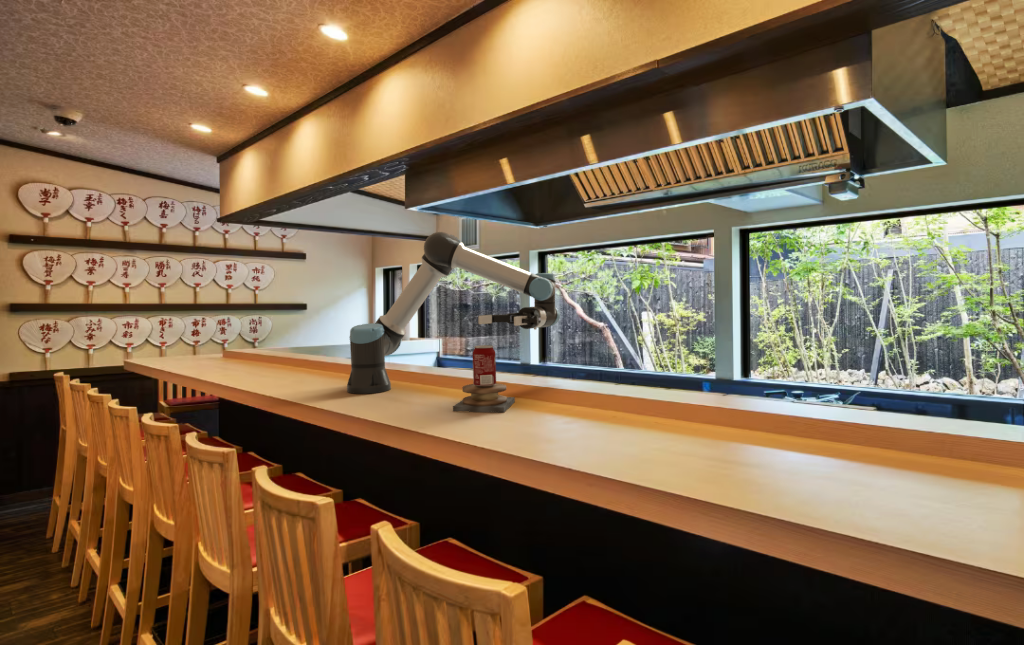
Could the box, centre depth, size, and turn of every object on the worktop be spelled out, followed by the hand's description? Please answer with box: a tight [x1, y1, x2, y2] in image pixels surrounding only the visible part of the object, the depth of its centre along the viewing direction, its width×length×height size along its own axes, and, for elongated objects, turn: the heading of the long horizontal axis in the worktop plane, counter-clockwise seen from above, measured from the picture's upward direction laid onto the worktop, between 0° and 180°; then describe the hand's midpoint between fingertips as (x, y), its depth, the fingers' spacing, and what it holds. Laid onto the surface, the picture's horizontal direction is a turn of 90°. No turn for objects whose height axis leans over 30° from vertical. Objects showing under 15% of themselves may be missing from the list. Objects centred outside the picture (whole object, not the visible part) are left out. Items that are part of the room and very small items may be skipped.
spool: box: [452, 382, 516, 414], centre depth 167 cm, size 15×15×6 cm
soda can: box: [472, 344, 497, 388], centre depth 166 cm, size 7×7×12 cm
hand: (496, 320), depth 178 cm, fingers open, 13 cm apart
